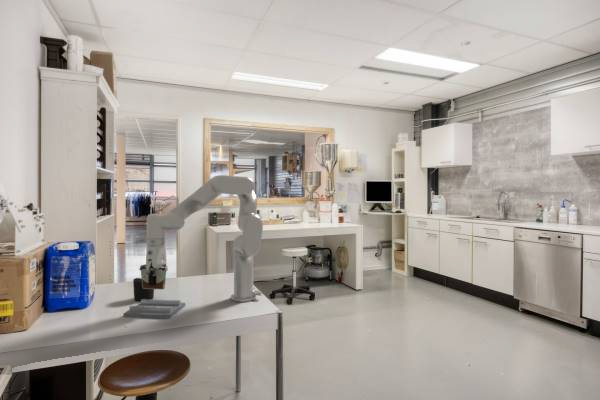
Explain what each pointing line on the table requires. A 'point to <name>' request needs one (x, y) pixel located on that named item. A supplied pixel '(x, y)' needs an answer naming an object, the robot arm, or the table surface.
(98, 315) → the table surface
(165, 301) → the rail plate
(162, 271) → the food container
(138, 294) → the pen holder
